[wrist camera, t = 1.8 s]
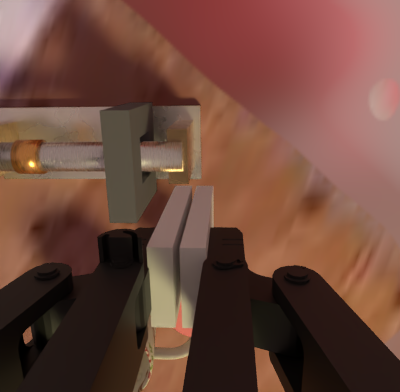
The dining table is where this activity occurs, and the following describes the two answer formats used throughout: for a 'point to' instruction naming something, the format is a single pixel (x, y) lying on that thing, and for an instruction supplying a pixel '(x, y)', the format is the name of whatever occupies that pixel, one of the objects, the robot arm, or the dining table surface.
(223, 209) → the dining table surface
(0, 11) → the dining table surface
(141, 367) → the mug
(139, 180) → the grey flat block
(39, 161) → the metal rod stand
